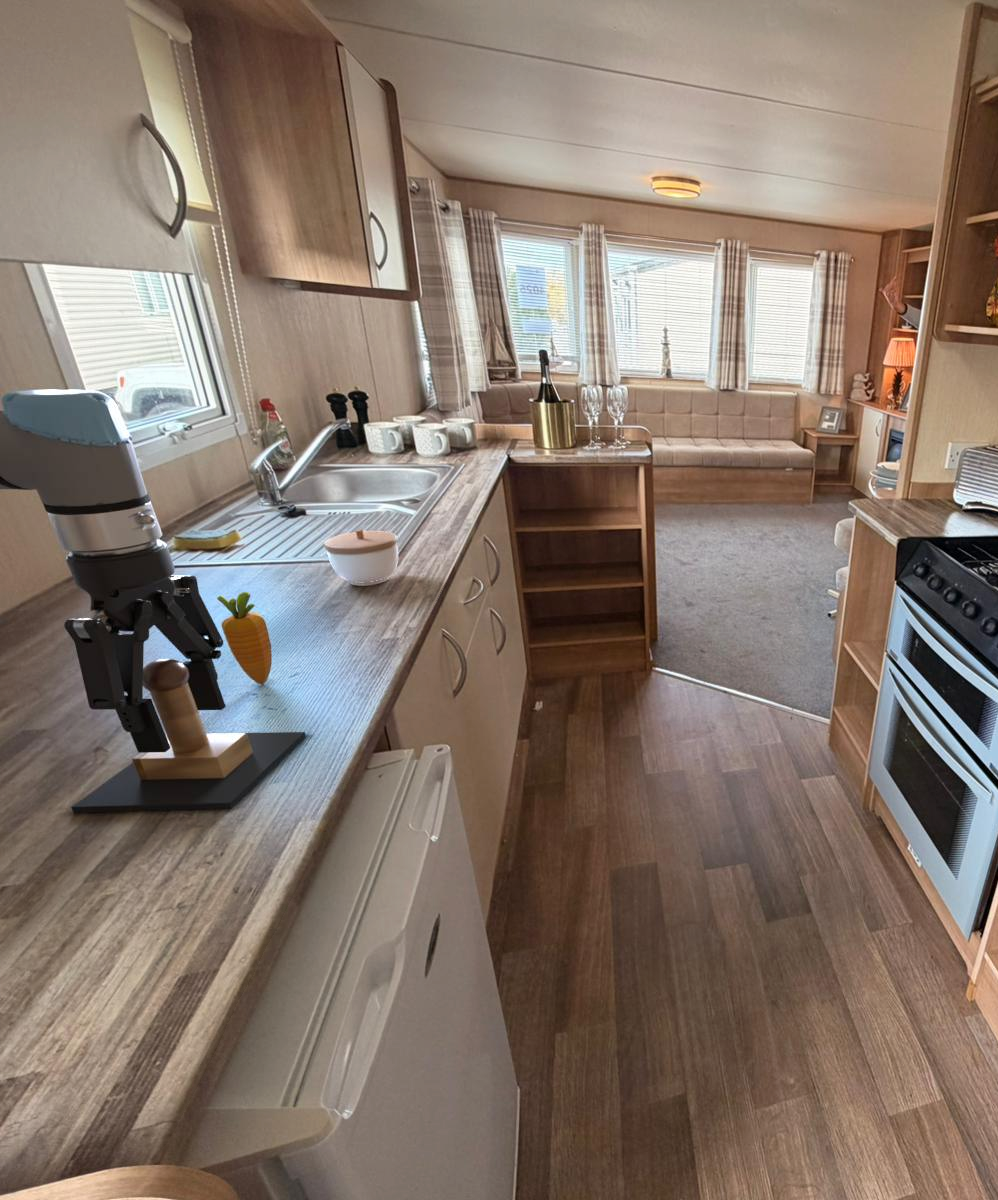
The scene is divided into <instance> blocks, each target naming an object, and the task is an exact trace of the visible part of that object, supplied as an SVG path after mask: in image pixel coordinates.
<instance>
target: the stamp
mask: <svg viewBox="0 0 998 1200" xmlns="http://www.w3.org/2000/svg"><path fill="white" fill-rule="evenodd" d="M183 663H184V662H181V661H180V660H177V659H173V658H160V659H155V660H153V661H151V662H149V663H147V664H146V665H145V666H143V689H145V690H147V691H148V692H149V693H150V696H151V699H152V702H153V705H154V707H155V710H156V712H157V715H158V717H159V720H160V722H161V725H162V728H163V730H164V733H165V735H166V738H167V740H168V743H169V745H170V749H169V750H167V751H166V752H145V753H138V754H137V755H135V756H134V757H132V758H131V761H132V763H134V765H135V768H136V770H137V772H138V775H139V777H140V779H141V780H147V779H148V780H153V779H201V778H225V777H226V776H227V775H228V774H229V773H231V772H232V771H233V770H234V769H235V768H236V767H237V766H238V765H240V764H241V763H242V762H243V761H244V760H245V759H246V758H247V757H249V756H250V755H251V754H252V753H253V752H252V749H251V746H250V743H249V739H248V736H247V733H248V732H213V733H212V732H211V733H209V732H208V733H209V734H206V733H207V731H206V729H205V725H204V723H203V721H202V717H201V715H200V712H199V710H198V709H197V706H196V704H195V701H194V698H193V695H192V693H191V690H190V687H189V684H188V682H187V681H188V679H189V670H188V668H187V667H186V666H185V665H184V664H183Z"/></svg>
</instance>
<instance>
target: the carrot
mask: <svg viewBox="0 0 998 1200" xmlns="http://www.w3.org/2000/svg"><path fill="white" fill-rule="evenodd" d="M250 598H251V593H250V592H247V591H243V592H241V593H239V594H238V595H237V597H236V598H231V599H230V600H229V601H228V600H227V599H226V598H225V597H224V596H222V595H218V596H217V598H216V600H218V602H220V603H221V604H222V605H223V606H224V607H225V608H226V609H227V610H228V611H229V612H230V613H231V614H232V615H231V616H229V617H227V618H225V619H224V620H223V621H221V629H222V631H223V635H224V637H225V641H226V642H227V645H228V648H229V649H230V652H231V654H232V655H233V657H234V659H235V660H236V662H237V663H238V665H239V666H240V668H241V669H242V671H243V672H244V673H245V674H246V675H247V676H248V677H249V678H250V679H251V680H252V681H254V682H255V683H256V684H258V685H261V686H263V685H264V684H265V683H266V682H268V679H269V676H270V673H271V669H272V663H273V662H272V655H273V654H272V644H271V638H270V634H269V630H268V626H267V623H266V621H265V619H264V618H263V616H262V615H261V614H260V613H257V612H250V611H252V609H254V607H255V606H256V604H255V603H250V604H248V603H249V601H250Z"/></svg>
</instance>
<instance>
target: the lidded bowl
mask: <svg viewBox="0 0 998 1200" xmlns="http://www.w3.org/2000/svg"><path fill="white" fill-rule="evenodd" d="M323 545H324V549H325V550H326V554H327V557H328V560H329V563H330V566H331V567H332V569H333V571H334V572H335V573H336V574H337V575H338V576H339V577H340V578H342V579H343V580H345V581H347V582H349V581H351V582H349V584H350V585H351V586H356V587H369V586H375V585H380V584H382V583H385V582H387V581H388V580H390V577H391V576H392V575H393V573H394V572H395V571H396V569H397V566H398V563H399V546H398V538H397V535H396V534H395V533H394V532H390V531H383V530H363V529H356V530H355V531H351V532H345V533H341V534H338V535H334V536H332V537H330V538H328V539H326V540H325V541H324V543H323ZM388 576H389V577H388ZM386 577H387V578H386ZM384 578H385V579H384ZM380 579H382V580H380ZM376 580H378V581H376ZM370 581H373V582H370ZM355 582H364V583H355Z"/></svg>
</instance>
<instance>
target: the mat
mask: <svg viewBox="0 0 998 1200" xmlns="http://www.w3.org/2000/svg"><path fill="white" fill-rule="evenodd" d="M246 733H247V736H248V739H249V743H250V746H251V749H252V752H253V753H252V754H251V755H250V756H249V757H247V758H246V759H245V760H244V761H243V762H242V763H241V764H240V765H238V766H237V767H236V768H235V769H234V770H233V771H232V772H231V773H229V774H228V775H227V776H226V777H225V778H201V779H153V780H148V779H147V780H141V779H140V777H139V775H138V772H137V770H136V768H135V765H134V763H133V762H131V763H130V764H128V765H127V766H126V767H124V768H123V769H121V770H120V771H118V772H117V773H116V774H114V775H113V776H112V777H110V778H109V779H107V780H106V781H105V782H104V783H102V784H100V785H99V786H98V787H97V788H95V789H94V790H92V791H91V792H89V793H88V794H87V795H86V796H84V797H83V798H81V799H80V800H78V801H77V802H76V803H74V804H73V805H72V806H70V809H71V810H72V813H74V814H75V813H108V812H146V811H148V812H149V811H150V812H151V811H182V810H183V811H184V810H185V811H186V810H188V811H189V810H223V809H224V810H225V809H233V808H234V807H235V806H236V805H237V804H238V803H239V802H240V801H242V799H243V798H244V797H245V796H247V794H248V793H249V792H250V791H252V789H254V787H256V786H257V785H258V783H260V782H261V781H262V780H263V779H264V778H265V777H266V776H267V775H268V774H269V773H270V772H271V771H272V770H273V769H275V767H276V766H278V764H280V763H281V762H282V761H283V759H284V758H286V757H287V756H288V755H289V754H290V753H291V752H292V751H293V750H294V749H295V748H296V747H297V746H298V745H299V744H301V743H302V741H304V739H306V737H307V735H306V732H305V731H293V732H292V731H286V732H285V731H284V732H282V731H279V732H277V731H276V732H275V731H274V732H246ZM206 734H209V732H208V733H207V732H206Z"/></svg>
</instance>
